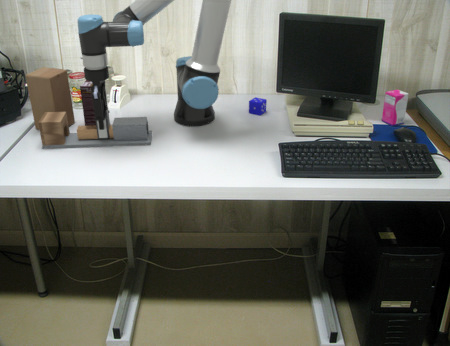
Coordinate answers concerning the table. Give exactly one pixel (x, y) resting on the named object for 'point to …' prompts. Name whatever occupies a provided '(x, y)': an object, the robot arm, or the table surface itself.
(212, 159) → the table surface
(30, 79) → the wooden block
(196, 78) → the robot arm
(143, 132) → the sleeve
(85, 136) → the brown piece
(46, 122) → the socket block
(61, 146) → the base board
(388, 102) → the supplement box
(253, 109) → the die
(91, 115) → the supplement box
